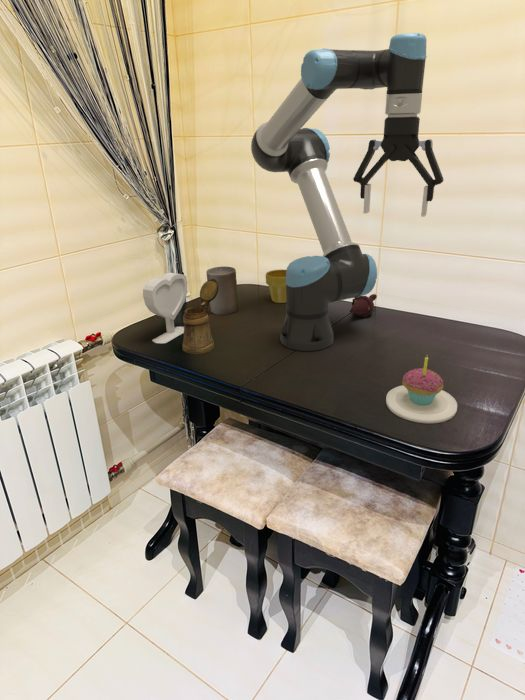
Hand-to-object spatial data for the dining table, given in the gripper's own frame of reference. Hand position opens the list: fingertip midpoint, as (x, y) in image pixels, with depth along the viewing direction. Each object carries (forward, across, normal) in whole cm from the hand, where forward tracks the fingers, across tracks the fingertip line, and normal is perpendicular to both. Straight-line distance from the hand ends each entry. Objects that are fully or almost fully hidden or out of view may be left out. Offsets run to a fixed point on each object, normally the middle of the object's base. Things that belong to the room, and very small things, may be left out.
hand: (394, 214), depth 121 cm
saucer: (+37, +14, -23) cm, 46 cm away
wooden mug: (+37, -48, -14) cm, 62 cm away
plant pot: (+37, -43, +29) cm, 64 cm away
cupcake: (+36, +14, -23) cm, 45 cm away
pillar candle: (+37, -57, +13) cm, 69 cm away
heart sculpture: (+37, -61, -11) cm, 72 cm away
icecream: (+37, -13, +25) cm, 46 cm away
